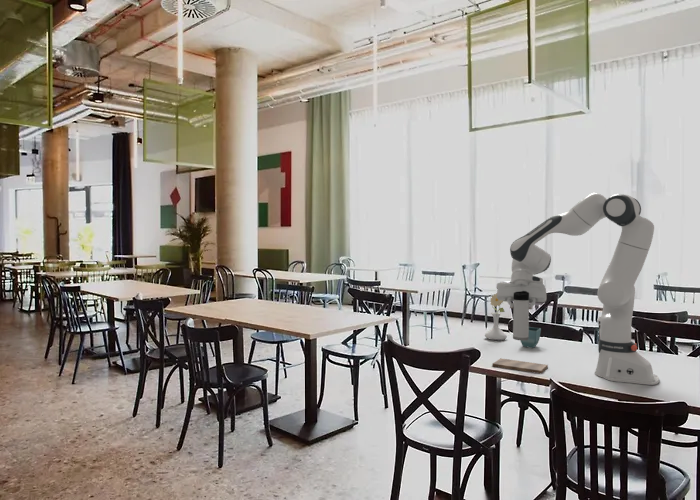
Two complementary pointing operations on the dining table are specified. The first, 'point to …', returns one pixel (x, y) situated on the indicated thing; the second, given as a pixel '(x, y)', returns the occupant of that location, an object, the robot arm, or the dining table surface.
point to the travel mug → (521, 315)
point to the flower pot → (532, 337)
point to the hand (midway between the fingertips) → (521, 308)
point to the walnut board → (520, 365)
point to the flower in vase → (496, 321)
